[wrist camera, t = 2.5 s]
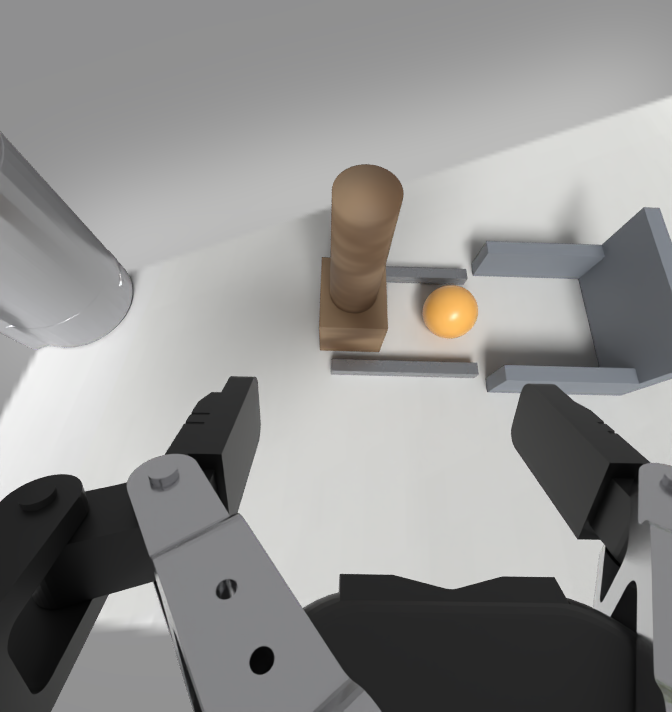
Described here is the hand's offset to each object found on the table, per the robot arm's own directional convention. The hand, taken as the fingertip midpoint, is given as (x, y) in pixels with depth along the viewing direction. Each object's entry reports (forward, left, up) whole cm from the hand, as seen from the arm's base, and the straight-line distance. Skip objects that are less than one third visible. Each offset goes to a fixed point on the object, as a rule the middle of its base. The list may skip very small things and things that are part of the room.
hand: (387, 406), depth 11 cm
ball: (+13, +6, -16) cm, 22 cm away
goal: (+20, +2, -19) cm, 27 cm away
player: (+6, +10, -19) cm, 22 cm away
